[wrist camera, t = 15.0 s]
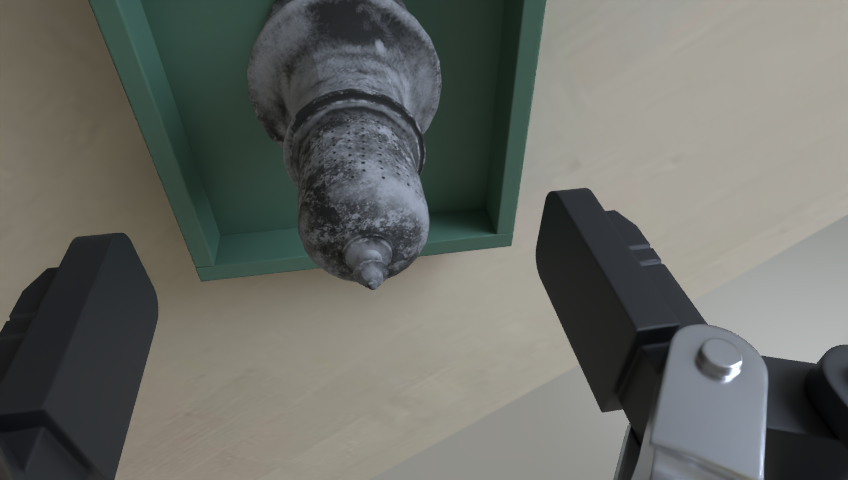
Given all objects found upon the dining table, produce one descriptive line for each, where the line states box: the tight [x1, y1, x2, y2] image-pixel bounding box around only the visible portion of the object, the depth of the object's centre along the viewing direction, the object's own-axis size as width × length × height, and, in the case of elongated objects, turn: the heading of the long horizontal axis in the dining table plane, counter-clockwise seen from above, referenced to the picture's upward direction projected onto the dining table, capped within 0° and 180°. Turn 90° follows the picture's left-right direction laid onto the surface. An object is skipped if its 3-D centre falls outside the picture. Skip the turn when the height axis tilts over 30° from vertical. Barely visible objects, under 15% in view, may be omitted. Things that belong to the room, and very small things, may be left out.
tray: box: [88, 0, 546, 281], centre depth 18 cm, size 18×14×3 cm
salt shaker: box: [247, 0, 442, 290], centre depth 14 cm, size 6×6×12 cm
